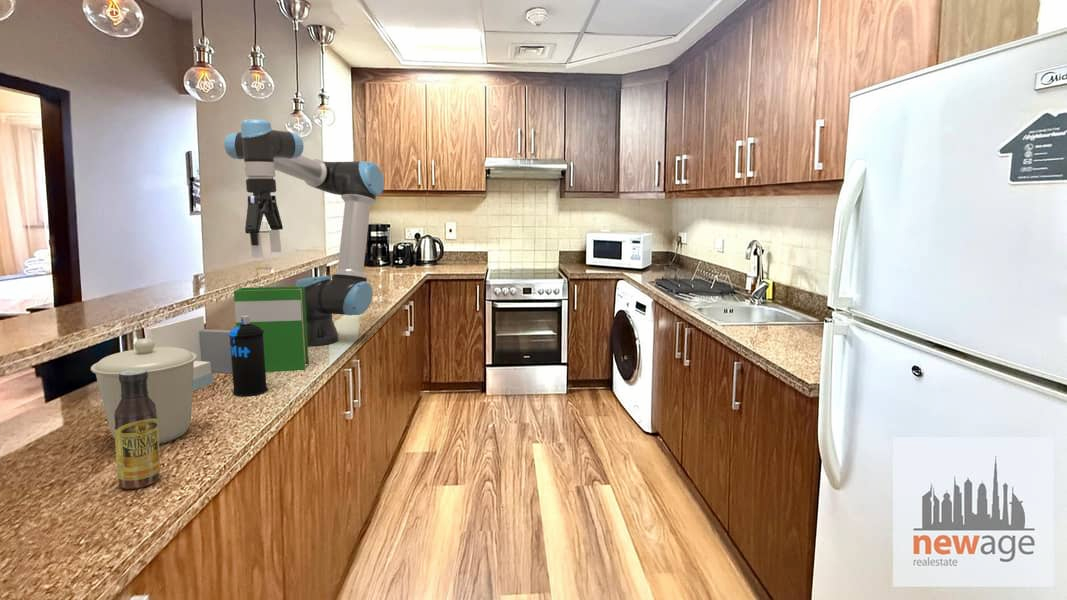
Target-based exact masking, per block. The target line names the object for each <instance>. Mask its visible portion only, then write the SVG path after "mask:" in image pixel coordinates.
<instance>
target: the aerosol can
mask: <svg viewBox="0 0 1067 600" xmlns="http://www.w3.org/2000/svg"><path fill="white" fill-rule="evenodd" d="M230 331H231V332H230V333H229V334H228V335H229V336H230V347H231V360H232V373H231V374H232V383H233V391H232V395H233V396H236V397H241V398H242V397H244V398H245V397H253V396H260V395H262V394H265V393H267V392H268V391H269V388H268V387H267V386H268V385H267V372H266V371H265V356H264V342H263V333H264V331H263V330H262V329H261V328H260V327H258V326H256V325H252V324H250V318H249V316H241V324H240V325H239V326H236V325H235V326H234V327H233V328H232V329H231V330H230Z"/></svg>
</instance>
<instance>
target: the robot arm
mask: <svg viewBox="0 0 1067 600" xmlns="http://www.w3.org/2000/svg"><path fill="white" fill-rule="evenodd" d="M240 125H241V126H240V128H241V129H240V131H239V132H238V131H237V132H233V133H229V134H227V136H226V137H225V138H224V144H223V145H224V146H223V147H224V151H225V153H226V154H227V155H228V156H229V158H232V159H234V160H243V162H244V164H243V167H242V168H243V170H244V173H245V177H247V178H246V180H245V186H246V192H247V193H249V194H250V193H252V195H248V196H247V209H246V219H245V228H244V231H245V234H249V241H250V251H251V258H252V259H253V258H254V259H255V258H264V252H263V241H262V233H261V232H260V230H261V227H262V226H261V225H262V222H263V217H264V216H265V219H266V221H267V224H268V226H269V230H268V234H269V235H268V236H269V244H270V253H282V244H281V243H282V242H281V233H280V230H283V228H284V226H283V222H282V220H281V215H280V212H279V208H278V204H277V198H276V195H271V193H276V192H277V183H276V182H277V181H276V179H275V177H276V171H278V172H280V173H283V174H286V175H287V176H288V175H289V176H291V177H294V178H296V179H299V180H301V181H304V182H305V184H306V185H308V186H310V187H312V188H314V189H317V190H320V191H323V192H325V193H328V194H333V195H339V196H340V198H341V199H342V201H343V202H344V209H343V216H342V217H343V218H342V225H341V226H342V227H341V228H342V229H341V235H340V246H339V255H338V262H337V270H336V271H334V272H333V273H332V275H331V276H330V275H321V276H312V277H307V278H299V279H298V280H297V281H295V287H296V286H304V289H305V306H306V324H307V342H308V347H315V346H326V345H330V344H333V343H336V342H338V341H339V332H338V330H337V328H336V326H335V323H334V320H333V315H344V316H360V315H363V314H364V313H365V312H366V311H367V310H368V309H369V308H370V306H371V304H372V301H373V290H372V289H373V288H372V285H371V284H370V283H369V282H368V277H367V276H366V275H365V273H364V270H365V269H364V268H365V259H366V250H367V240H368V231H369V223H370V211H371V206H372V205H374V204H375V203H376V198H377V196H379V195H382V193H383V192H384V188H385V180H384V176H383V173H382V171H381V169H380V167H379V166H378V164H377V163H375V162H374V161H373V162H372V161H365V160H359V161H323V160H321V159H317V158H316V159H315V158H314V159H311V158H308V157H306V156H304V155H302V154H303V152H304V148H305V147H304V146H305V145H304V141H303V139H302V137H301V136H300V135H299V134H297V133H295V132H291V131H284V130H274V129H273V128H272V124H271V122H270V121H268V120H265V119H251V118H250V119H244V120H242V121H241V123H240Z"/></svg>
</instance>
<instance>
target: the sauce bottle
mask: <svg viewBox="0 0 1067 600" xmlns="http://www.w3.org/2000/svg"><path fill="white" fill-rule="evenodd" d="M147 378H148V373H147V370H145V369H134V370H126V371H122V372H120V373H119V381H120V383H121V397H122V399H121V401H120V403H119V405H118V407H117V409H116V410H115V413H114V414H115V428H114V429H115V439H114V441H115V443H114V444H115V460H116V474H117V475H116V476H117V478H118V486H119V487H120V488H122V489H125V490H133V489H140V488H145V487H148V486H149V485H152V484H154V483H156V482H158V481H159V478H160V471H161V461H160V458H161V457H160V444H159V436H158V420H157V413H156V406H155V403H154V402H153V401H152V400H151V399H150V398H149V396H148V391H147Z"/></svg>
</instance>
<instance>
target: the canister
mask: <svg viewBox="0 0 1067 600" xmlns="http://www.w3.org/2000/svg"><path fill="white" fill-rule="evenodd" d="M154 346H155V343H154V341H153V340H151V339H148V337H147V338H146V337H145V338H139V339H137V340H136V341H135V342H134V344H133V347H134V349H130V350H125V351H121V352H116V353H113V354H110V355H107V356H105V357H103V358H101V359H100V360H99V361H98V362H96V363H94V364H92V365H91V366H90V371H91V372H92V373H94V374H95V376H96V380H97V385H98V388H99V392H100V397H101V400H102V404H103V408H104V412H105V416H106V418H107V419H106V420H107V423H108V426H109V430H110V432H111V435H112V437H113V438H114V440H115V429H114V428H115V414H114V413H115V410H116V409H117V407H118V405H119V403H120V401H121V399H122V397H121V383H120V381H119V373H120V372H122V371H126V370H134V369H145V370H147V373H148V378H147V391H148V396H149V398H150V399H151V400H152V401H153V402H154V403H155V406H156V413H157V420H158V436H159V445H160V444H165V443H168V442H171V441H173V440H176V439H178V438H180V437H181V436H182V435H184V434H185V433H186V432H187V431H188V429H189V427H190V425H191V420H192V410H193V409H192V408H193V394H194V391H193V367H194V361H195V360H196V359H197V355H196V354H195V353H192V352H189V351H188V350H186V349H182V348H175V347H154Z"/></svg>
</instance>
